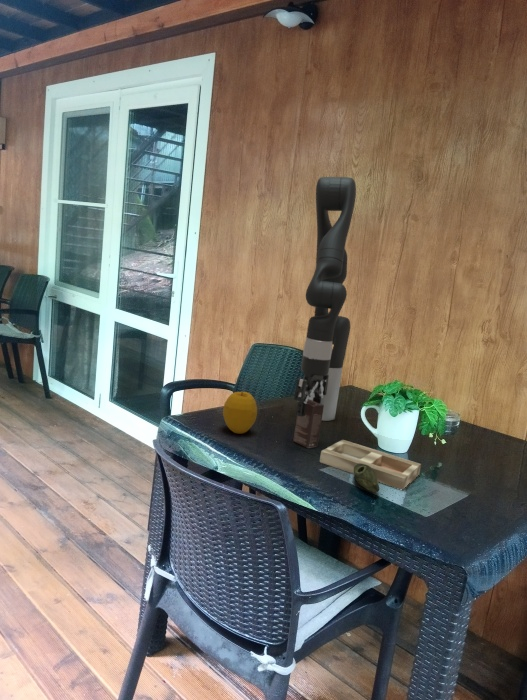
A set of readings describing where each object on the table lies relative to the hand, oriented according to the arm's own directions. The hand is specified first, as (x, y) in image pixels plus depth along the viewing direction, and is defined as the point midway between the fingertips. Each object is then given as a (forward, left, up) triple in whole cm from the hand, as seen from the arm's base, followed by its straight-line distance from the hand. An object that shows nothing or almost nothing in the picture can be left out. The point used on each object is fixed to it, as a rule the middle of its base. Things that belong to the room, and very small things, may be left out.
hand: (308, 413), depth 156 cm
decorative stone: (+13, +24, -9) cm, 29 cm away
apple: (+7, -18, -9) cm, 21 cm away
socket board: (+2, +20, -9) cm, 22 cm away
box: (0, 0, -9) cm, 9 cm away
